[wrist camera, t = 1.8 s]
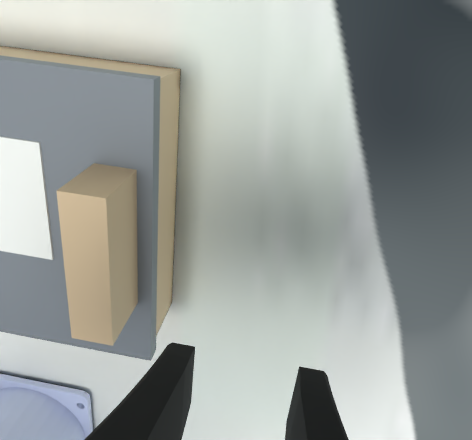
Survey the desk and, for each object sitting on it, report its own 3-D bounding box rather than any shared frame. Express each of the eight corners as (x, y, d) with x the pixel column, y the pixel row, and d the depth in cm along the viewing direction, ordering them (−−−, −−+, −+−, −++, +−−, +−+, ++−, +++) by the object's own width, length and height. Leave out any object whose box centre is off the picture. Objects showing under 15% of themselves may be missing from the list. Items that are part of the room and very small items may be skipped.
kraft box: (171, 302, 23) (153, 341, 20) (-2, 271, 24) (-41, 304, 21) (180, 69, 17) (157, 80, 15) (-46, 39, 18) (-107, 45, 16)
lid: (155, 349, 20) (129, 408, 17) (-49, 310, 21) (-107, 359, 18) (160, 76, 14) (122, 94, 11) (-120, 39, 15) (-221, 47, 12)
